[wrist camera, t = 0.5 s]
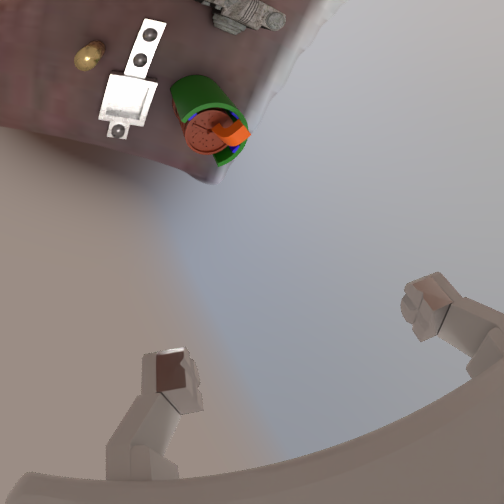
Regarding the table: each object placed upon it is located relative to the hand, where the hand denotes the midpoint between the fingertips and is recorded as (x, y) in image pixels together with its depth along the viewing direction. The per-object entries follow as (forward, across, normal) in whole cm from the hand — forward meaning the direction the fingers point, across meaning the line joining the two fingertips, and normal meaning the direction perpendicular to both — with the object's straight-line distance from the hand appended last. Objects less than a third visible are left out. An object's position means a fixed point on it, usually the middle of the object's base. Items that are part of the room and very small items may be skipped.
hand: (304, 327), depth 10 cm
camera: (+47, -6, -18) cm, 50 cm away
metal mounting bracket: (+47, +11, -9) cm, 49 cm away
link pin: (+44, +16, -16) cm, 50 cm away
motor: (+50, +2, -2) cm, 50 cm away
